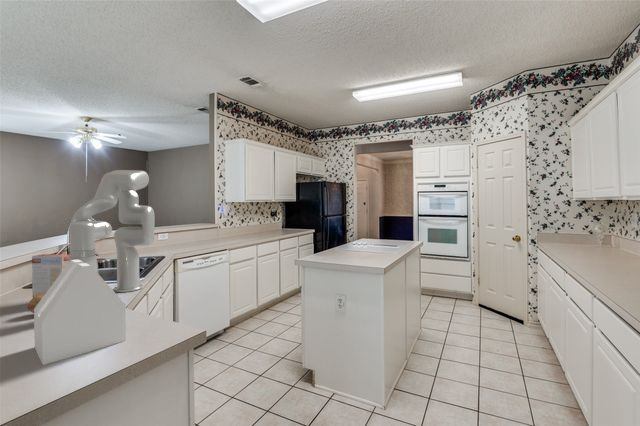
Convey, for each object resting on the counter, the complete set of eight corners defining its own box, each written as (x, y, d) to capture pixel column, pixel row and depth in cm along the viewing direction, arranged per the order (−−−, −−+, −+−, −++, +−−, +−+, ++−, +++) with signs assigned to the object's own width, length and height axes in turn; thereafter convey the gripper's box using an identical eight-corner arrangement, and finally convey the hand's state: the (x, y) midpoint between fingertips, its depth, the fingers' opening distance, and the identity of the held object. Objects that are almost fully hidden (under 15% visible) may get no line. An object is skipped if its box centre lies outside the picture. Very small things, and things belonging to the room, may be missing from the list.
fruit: (22, 317, 114) (22, 296, 114) (42, 311, 122) (41, 291, 121) (42, 318, 114) (42, 297, 113) (61, 311, 121) (60, 291, 121)
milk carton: (42, 365, 80) (41, 271, 80) (34, 347, 90) (33, 264, 90) (125, 341, 95) (124, 261, 94) (110, 328, 105) (109, 256, 104)
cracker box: (74, 301, 134) (73, 254, 134) (61, 305, 128) (60, 256, 128) (45, 300, 136) (45, 253, 135) (31, 304, 130) (31, 255, 129)
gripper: (92, 251, 126) (93, 295, 126) (53, 257, 110) (54, 307, 110) (108, 251, 125) (109, 295, 125) (72, 257, 109) (73, 308, 109)
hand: (83, 301), depth 118 cm, fingers closed on fader, 2 cm apart
